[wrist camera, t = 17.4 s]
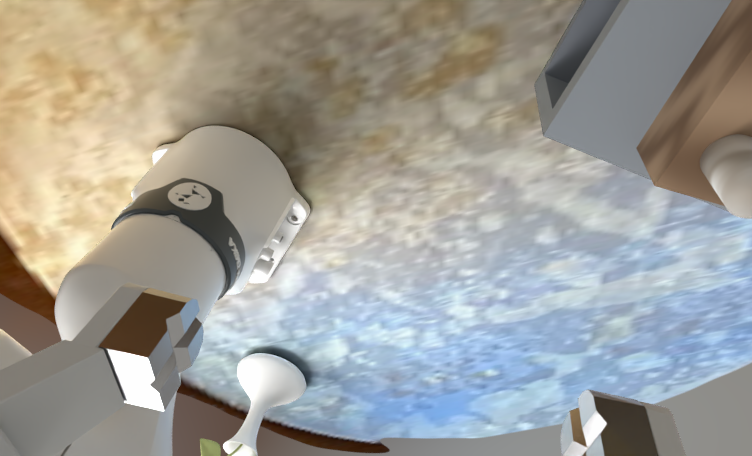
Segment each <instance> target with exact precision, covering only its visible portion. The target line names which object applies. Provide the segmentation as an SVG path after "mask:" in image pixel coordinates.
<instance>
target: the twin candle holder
mask: <svg viewBox="0 0 752 456" xmlns="http://www.w3.org/2000/svg"><path fill="white" fill-rule="evenodd" d="M636 149H637V151H638V153H639V155H640V157H641V159H642V161H643V163H644V165H645V167H646V169H647V171H648V173H649V176H650V178H651V180H652V182H653V184H654V186H657V187H661V188H664V189H667V190H671V191H674V192H678V193H681V194H685V195H688V196H691V197H695V198H698V199H702V200H705V201H709V202H712V203H715V204H719V205H722V206H725V207H726V208H727V210H728V211H729V212H730V213H731V214H733V215H735V216H737V217H740V218H750V219H751V218H752V0H732V1H731V2H730V4H729V5H728V7H727V8H726V10H725V11H724V13H723V15H722V16H721V18H720V19H719V21H718V22H717V24H716V25H715V27H714V29H713V30H712V32H711V33H710V35H709V36H708V38H707V39H706V41H705V42H704V44H703V46H702V47H701V49H700V50H699V52H698V53H697V55H696V56H695V58H694V59H693V61H692V63H691V64H690V66H689V67H688V69H687V70H686V72H685V73H684V75H683V76H682V78H681V80H680V81H679V83H678V84H677V86H676V87H675V89H674V90H673V92H672V94H671V95H670V97H669V98H668V100H667V101H666V103H665V104H664V106H663V107H662V109H661V111H660V112H659V114H658V115H657V117H656V118H655V120H654V121H653V123H652V124H651V126H650V128H649V129H648V131H647V132H646V134H645V135H644V137H643V138H642V140H641V141H640V143H639V145H638V146H637V148H636Z"/></svg>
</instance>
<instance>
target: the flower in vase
mask: <svg viewBox="0 0 752 456" xmlns="http://www.w3.org/2000/svg"><path fill="white" fill-rule="evenodd" d="M237 376H238V379H239V381H240V383H241V385H242V387H243V389H244V390H245V392H246V393H247V394H248V396H249V397H250V399H251V407H250V411H249V413H248V415H247V418H246V420H245V422H244V423H243V425H242V427H241V428H240V430H239V431H238V433H237V434H236V435H235V436H234V437H233V438H231V439H230V440H228V441H227V442H225V443H224V445H223V448H224V450H225V451H226V452H227V453H228V454H229V455H227V456H258V454H257V450H256V438H257V433H258V430H259V426H260V424H261V421H262V419H263V417H264V414H265V413H266V411H267V410H268V409H269V408H271V407H274V406H279V405H284V404H288V403H290V402H293V401H295V400H297V399H299V398H300V397H301V396H302V395H303V394H304V392H305V390H306V381H305V378H304V376H303V374H302V372H301V371H300V370H299V369H298V368H297V367H296V366H295V365H294V364H292V363H291V362H289V361H287V360H286V359H284V358H281V357H279V356H276V355H272V354H266V353H255V354H251V355H249V356H247V357H245V358H243V359H242V360H241V361H240V362H239V364H238V367H237ZM200 448H201V456H220V455H221V447H220V445H219V444H218V443H216V442H214V441H211V440H207V439H200Z"/></svg>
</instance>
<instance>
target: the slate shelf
mask: <svg viewBox="0 0 752 456" xmlns="http://www.w3.org/2000/svg"><path fill="white" fill-rule="evenodd" d="M731 1H732V0H583V2H582V3H581V5H580V7H579V9H578V10H577V12H576V14H575V15H574V17H573V19H572V21H571V22H570V24H569V26H568V28H567V29H566V31H565V33H564V34H563V36H562V38H561V40H560V41H559V43H558V45H557V47H556V48H555V50H554V52H553V54H552V55H551V57H550V59H549V60H548V62H547V64H546V66H545V67H544V69H543V71H542V73H541V74H540V76H539V78H538V79H537V81H536V83H535V91H536V97H537V103H538V109H539V114H540V120H541V126H542V132H543V136H545V137H547V138H550V139H552V140H555V141H557V142H560V143H562V144H565V145H567V146H569V147H572V148H574V149H577V150H579V151H582V152H584V153H587V154H589V155H591V156H594V157H596V158H599V159H601V160H604V161H606V162H608V163H611V164H613V165H616V166H618V167H621V168H623V169H626V170H628V171H630V172H633V173H635V174H638V175H640V176H643V177H645V178H648V179H650V180H651V178H650V176H649V173H648V171H647V169H646V167H645V165H644V163H643V161H642V159H641V157H640V155H639V153H638V151H637V149H636V148H637V146H638V145H639V143H640V141H641V140H642V138H643V137H644V135H645V134H646V132H647V131H648V129H649V128H650V126H651V124H652V123H653V121H654V120H655V118H656V117H657V115H658V114H659V112H660V111H661V109H662V107H663V106H664V104H665V103H666V101H667V100H668V98H669V97H670V95H671V94H672V92H673V90H674V89H675V87H676V86H677V84H678V83H679V81H680V80H681V78H682V76H683V75H684V73H685V72H686V70H687V69H688V67H689V66H690V64H691V63H692V61H693V59H694V58H695V56H696V55H697V53H698V52H699V50H700V49H701V47H702V46H703V44H704V42H705V41H706V39H707V38H708V36H709V35H710V33H711V32H712V30H713V29H714V27H715V25H716V24H717V22H718V21H719V19H720V18H721V16H722V15H723V13H724V11H725V10H726V8H727V7H728V5H729V4H730V2H731ZM694 198H695V197H694ZM696 199H698V198H696ZM699 200H701V201H704V202H706V203H709V204H711V205H713V206H716V207H718V208H721V209H723V210H726V211H728V210H727V208H726V207H725V206H722V205H719V204H715V203H712V202H709V201H705V200H702V199H699ZM728 212H729V211H728Z"/></svg>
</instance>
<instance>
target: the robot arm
mask: <svg viewBox="0 0 752 456" xmlns="http://www.w3.org/2000/svg"><path fill="white" fill-rule="evenodd" d="M152 159H153V167H152V168H151V169H150V170H149V171H148V172H147V173H146V175H145V176H144V177H143V178H142V179H141V180H140V181H139V183H138V184H137V185H136V186H135V187H134V189H133V190H132V193H131V196H132V197H133V202H132V203H130V204H128V205H127V206H126V207H125V208H124V210H123V211H122V212H121V214H120V215H119V217H118V218H117V219H116V220H115V221H114V223H113V225H112V228H111V231H110V232H109V233H108V234H107V235H106V236H105V237H104V238H103V239H102V240H101V241H100V242H99V243H98V244H97V245H96V246H95V247H94V248H93V249H92V250H91V251H89V252H88V253H87V254H86V255H85V256H84V257H83V258H82V259H81V260H80V261H79V262H78V263H77V264H76V265H75V266H74V267H73V268H72V269H71V270H70V271H69V272H68V273H67V274H66V276H65V277H64V279H63V281H62V283H61V286H60V288H59V291H58V294H57V298H56V303H55V318H56V323H57V326H58V330H59V333H60V336H61V339H62V341H61V342H59V343H57V344H55V345H53V346H51V347H48V348H46V349H44V350H42V351H40V352H38V353H36V354H32V353H30V352H29V351H28V350H27V349H26V348H24V347H23V346H22V345H21V344H19V343H18V342H17V341H16V340H14V339H13V338H12V337H11V336H9V335H8V334H7V333H6V332H4V331H3V330H2V329H0V456H173V454H172V425H173V412H174V405H175V398H176V392H177V389H178V388H179V386H180V384H181V381H180V374H181V372H182V371H184V370H185V369H187V368H189V367H191V366H192V364H193V363H194V361H195V359H196V357H197V356H198V353H199V350H200V347H201V345H202V342H203V326H202V325H203V323H204V321H205V319H206V318H207V316H208V314H209V312H210V311H211V309H212V307H213V306H214V304H215V302H216V301H217V300H219V299H220V298H222V297H223V296H224V295H225V294H226V295H233V294H238V293H241V292H242V291H243V289H244V288H245V286H246V284H247V283H265V282H267V281H268V279H269V278H270V277H271V275H272V274H273V272H274V270H275V269H276V267H277V266H278V264H279V262H280V261H281V259H282V258H283V256H284V254H285V253H286V251H287V249H288V248H289V246H290V245H291V243H292V241H293V240H294V238H295V237H296V235H297V233H298V232H299V230H300V229H301V227H302V225H303V224H304V222H305V221H306V219H307V217H308V216H309V214H310V207H309V205H308V203H307V202H306V201H305V199H304V198H303V197H302V196H301V195H300V194H299V193H298V192H297V191H296V190H295V188H294V186H293V184H292V182H291V179H290V177H289V175H288V172H287V170H286V169H285V167H284V165H283V164H282V162H281V161H280V160H279V158H278V157H277V156H276V155H275V154H274V153H273V152H272V151H271V150H270V149H269V148H268V147H267V146H266V145H265V144H263V143H262V142H261V141H259V140H258V139H256V138H255V137H253V136H251V135H249V134H247V133H245V132H243V131H240V130H237V129H234V128H230V127H225V126H205V127H201V128H198V129H195V130H193V131H191V132H189V133H188V134H187V135H185V136H184V137H183V138H182V139H181V140H179V141H178V142H176V143H171V144H166V145H162V146H159V147H158V148H157V149H156V150H155V151H154V152H153V154H152ZM293 215H294V216H296V217H297V218H296V217H294V216H293ZM578 403H579V408H576V409H574V410H571V411H569V413H568V415H567V416H566V418H565V420H564V423H563V427H562V431H561V452H562V456H686V454H685V451H684V448H683V445H682V442H681V439H680V436H679V433H678V430H677V427H676V424H675V421H674V418H673V414H672V413H671V412H670V411H669V409H668V408H666V407H662V406H658V405H653V404H649V403H644V402H639V401H637V400H634V399H630V398H625V397H620V396H616V395H611V394H607V393H602V392H597V391H593V390H586V391H583V392H582V394H581V395H580V396H579V398H578Z"/></svg>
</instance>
